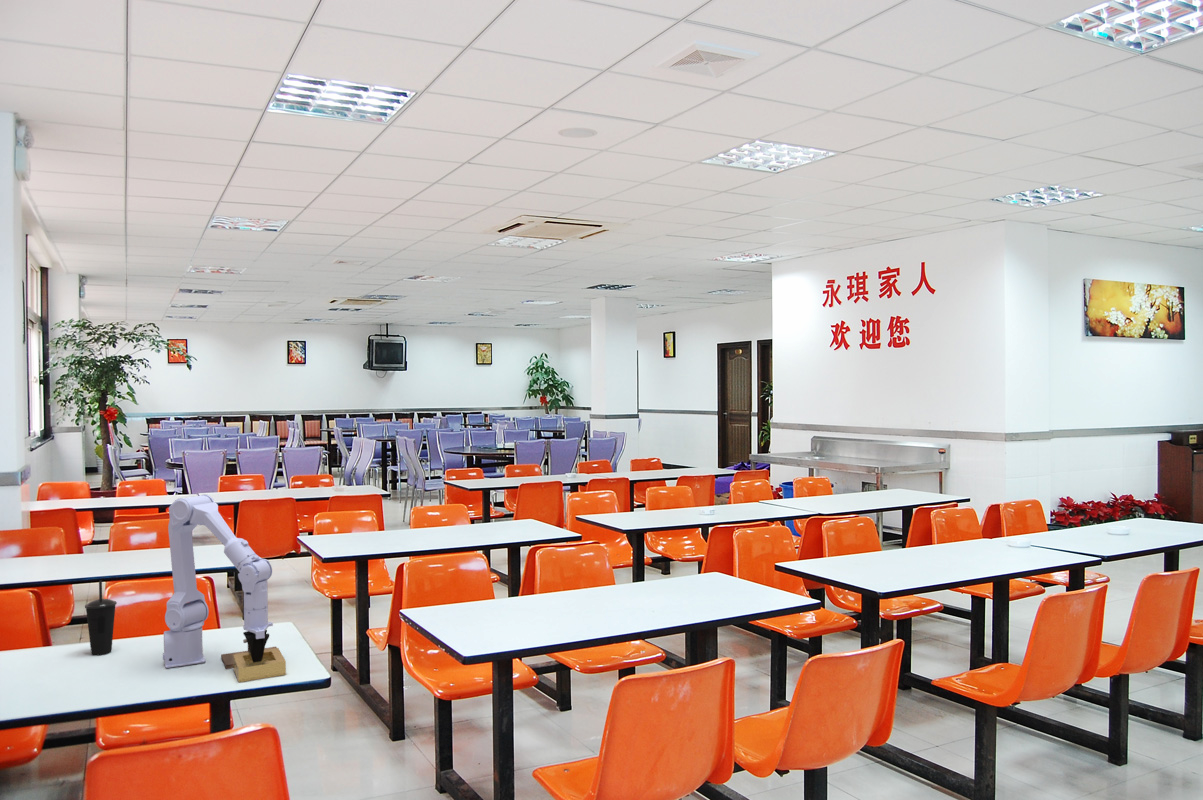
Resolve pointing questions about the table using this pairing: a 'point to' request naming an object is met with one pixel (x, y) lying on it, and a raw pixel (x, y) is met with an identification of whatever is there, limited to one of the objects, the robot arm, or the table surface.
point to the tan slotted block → (259, 665)
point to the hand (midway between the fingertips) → (256, 660)
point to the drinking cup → (100, 624)
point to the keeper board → (228, 657)
